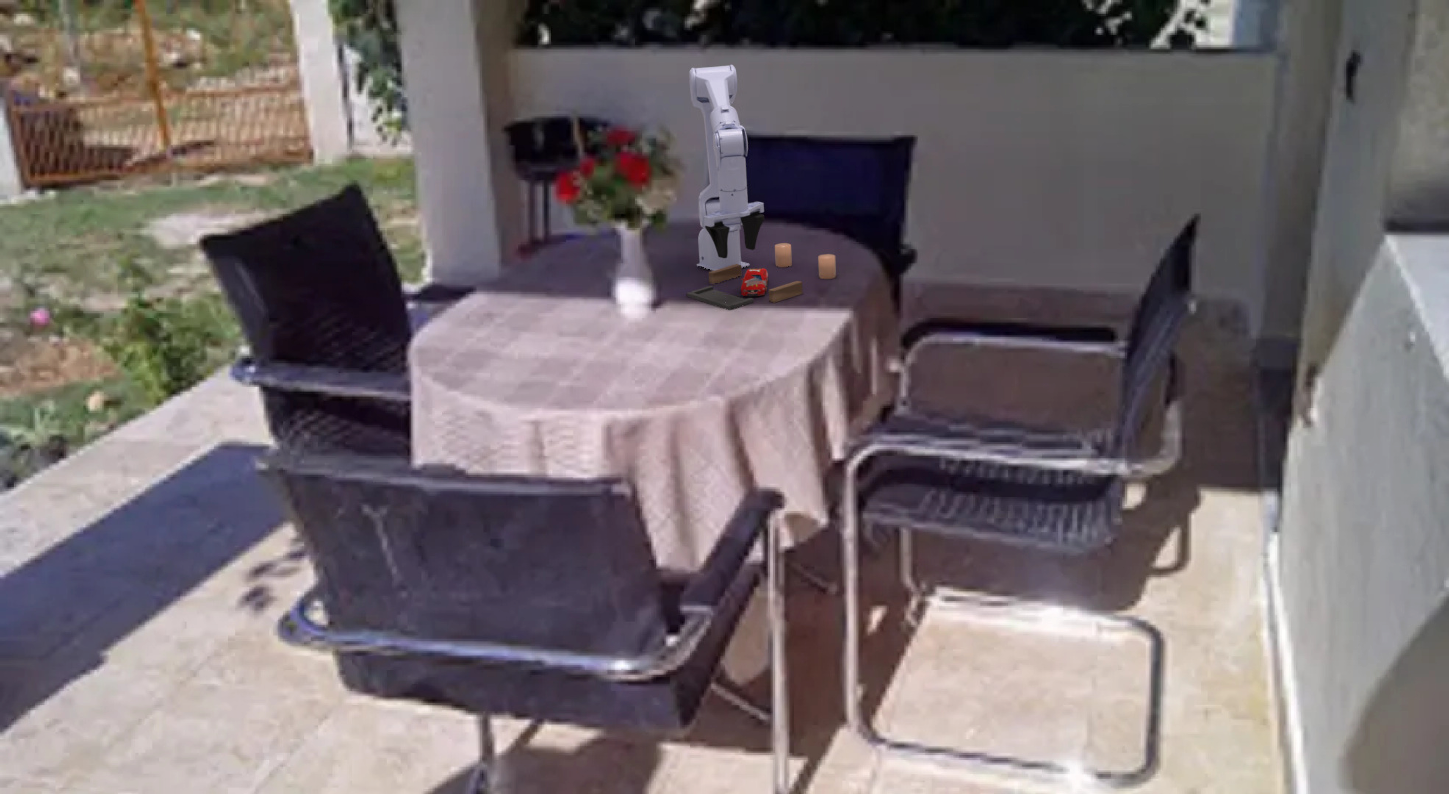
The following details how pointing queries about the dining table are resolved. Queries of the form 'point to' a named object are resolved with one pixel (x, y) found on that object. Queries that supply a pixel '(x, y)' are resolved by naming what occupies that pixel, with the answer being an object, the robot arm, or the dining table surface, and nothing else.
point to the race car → (754, 282)
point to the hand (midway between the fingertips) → (736, 253)
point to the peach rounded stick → (783, 255)
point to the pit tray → (718, 298)
